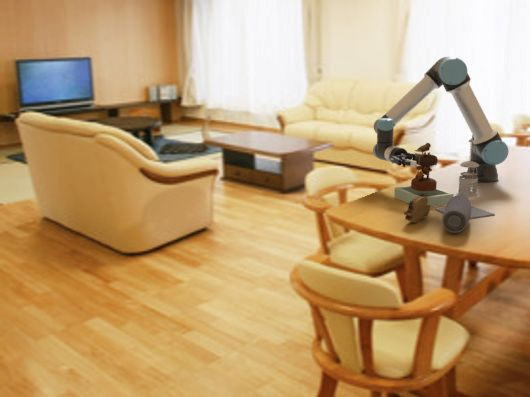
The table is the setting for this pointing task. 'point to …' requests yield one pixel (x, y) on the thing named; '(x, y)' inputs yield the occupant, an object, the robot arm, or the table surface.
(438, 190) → the storage box
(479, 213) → the slate mat
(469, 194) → the french press
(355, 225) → the table surface
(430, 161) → the dark brown irregular piece
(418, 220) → the wooden carving
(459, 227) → the bluetooth speaker
